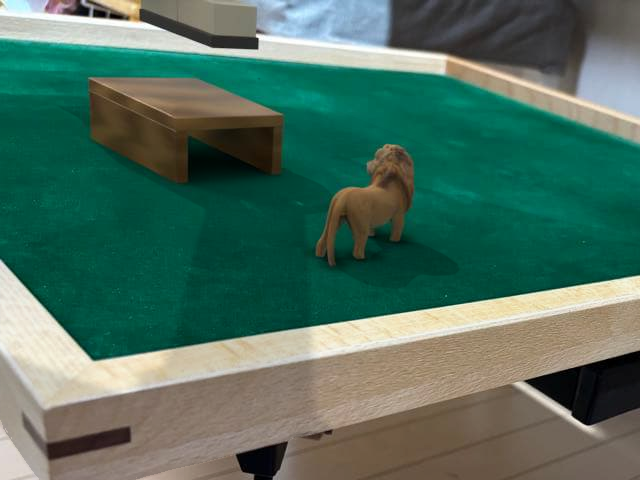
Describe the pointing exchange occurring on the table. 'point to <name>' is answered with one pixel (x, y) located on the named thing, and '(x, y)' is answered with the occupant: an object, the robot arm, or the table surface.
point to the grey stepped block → (205, 21)
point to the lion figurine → (372, 202)
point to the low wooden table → (181, 123)
